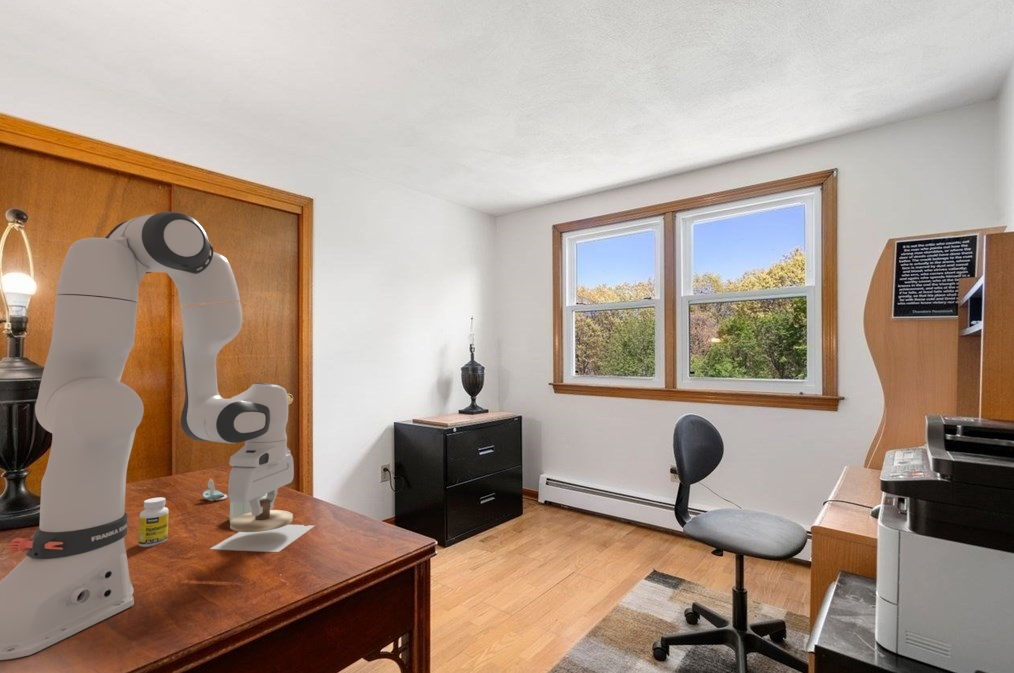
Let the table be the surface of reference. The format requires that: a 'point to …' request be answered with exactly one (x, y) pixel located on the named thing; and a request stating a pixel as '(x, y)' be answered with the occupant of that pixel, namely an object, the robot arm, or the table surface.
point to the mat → (264, 539)
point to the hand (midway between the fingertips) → (262, 512)
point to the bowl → (241, 508)
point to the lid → (261, 519)
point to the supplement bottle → (153, 522)
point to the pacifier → (213, 492)
